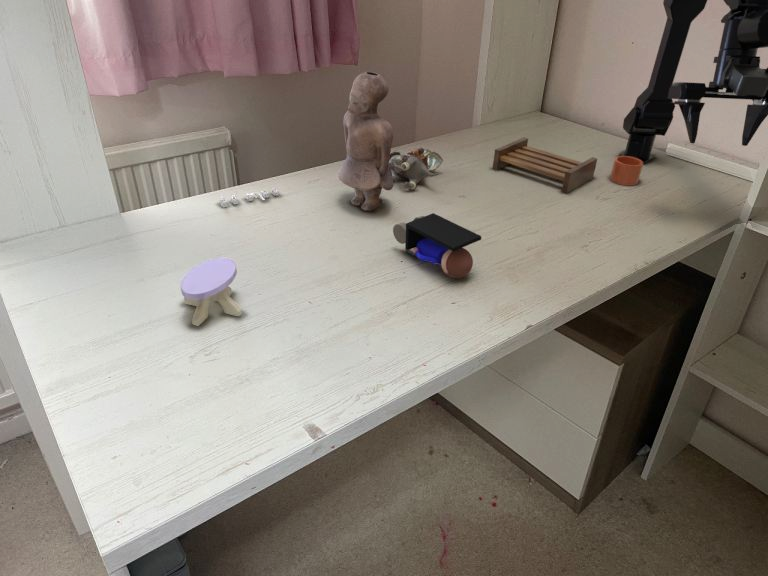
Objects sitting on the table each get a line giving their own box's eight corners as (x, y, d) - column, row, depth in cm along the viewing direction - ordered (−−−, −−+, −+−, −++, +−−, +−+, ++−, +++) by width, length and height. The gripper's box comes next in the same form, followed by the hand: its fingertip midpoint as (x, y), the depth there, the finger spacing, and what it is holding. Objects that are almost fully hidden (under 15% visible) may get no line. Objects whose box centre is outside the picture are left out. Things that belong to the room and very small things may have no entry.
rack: (520, 155, 144) (523, 137, 142) (593, 178, 134) (597, 158, 132) (492, 168, 137) (494, 149, 134) (566, 193, 127) (570, 173, 124)
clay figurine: (325, 200, 120) (323, 68, 106) (364, 187, 126) (366, 61, 112) (368, 224, 112) (371, 84, 98) (408, 209, 118) (416, 76, 104)
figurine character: (390, 258, 104) (452, 288, 94) (388, 216, 101) (452, 243, 90) (419, 247, 108) (482, 275, 98) (419, 206, 105) (484, 230, 94)
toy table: (214, 283, 93) (210, 251, 90) (260, 302, 90) (257, 268, 87) (165, 315, 86) (158, 280, 83) (213, 336, 82) (208, 301, 79)
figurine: (350, 152, 128) (392, 132, 140) (351, 179, 131) (393, 158, 143) (434, 168, 119) (472, 145, 131) (433, 197, 122) (470, 172, 134)
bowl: (617, 173, 137) (621, 153, 135) (642, 180, 134) (647, 160, 132) (605, 180, 134) (610, 160, 131) (631, 187, 130) (636, 167, 128)
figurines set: (275, 192, 122) (274, 179, 121) (281, 197, 120) (280, 184, 119) (216, 204, 117) (215, 190, 115) (221, 210, 115) (220, 196, 113)
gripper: (704, 45, 96) (685, 146, 101) (824, 50, 96) (799, 151, 101) (675, 49, 107) (658, 140, 112) (782, 53, 106) (761, 145, 111)
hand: (718, 144), depth 109 cm, fingers open, 9 cm apart
